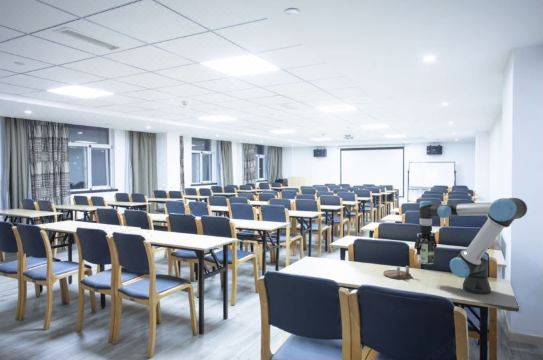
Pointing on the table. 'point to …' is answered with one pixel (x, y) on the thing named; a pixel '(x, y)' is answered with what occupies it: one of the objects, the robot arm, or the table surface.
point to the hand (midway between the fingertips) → (425, 258)
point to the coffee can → (427, 252)
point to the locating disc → (397, 273)
